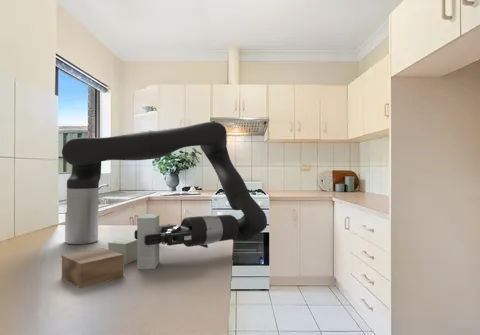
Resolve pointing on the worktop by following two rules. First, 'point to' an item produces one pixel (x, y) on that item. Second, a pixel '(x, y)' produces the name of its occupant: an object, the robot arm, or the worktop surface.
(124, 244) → the grey-green cube
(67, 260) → the walnut block
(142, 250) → the skincare box
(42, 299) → the worktop surface
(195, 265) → the worktop surface
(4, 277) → the worktop surface
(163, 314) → the worktop surface
